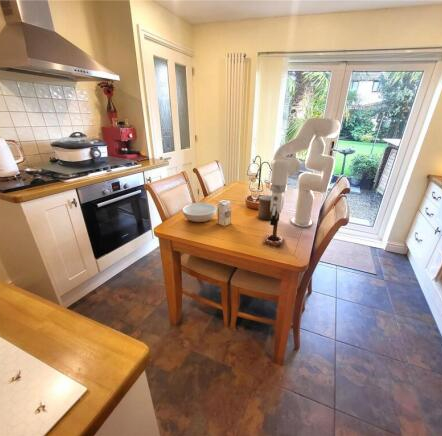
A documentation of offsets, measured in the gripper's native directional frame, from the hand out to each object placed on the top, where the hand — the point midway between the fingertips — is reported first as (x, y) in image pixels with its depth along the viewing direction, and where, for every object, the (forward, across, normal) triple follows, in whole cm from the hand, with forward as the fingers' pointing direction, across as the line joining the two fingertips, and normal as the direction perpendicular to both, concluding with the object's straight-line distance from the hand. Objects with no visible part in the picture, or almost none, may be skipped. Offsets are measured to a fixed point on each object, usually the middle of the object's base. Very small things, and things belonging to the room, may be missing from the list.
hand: (274, 222), depth 115 cm
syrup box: (+14, +14, +32) cm, 37 cm away
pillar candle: (+14, +33, +11) cm, 37 cm away
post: (+13, +4, 0) cm, 14 cm away
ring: (+11, +3, 0) cm, 12 cm away
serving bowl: (+14, +16, +49) cm, 53 cm away
